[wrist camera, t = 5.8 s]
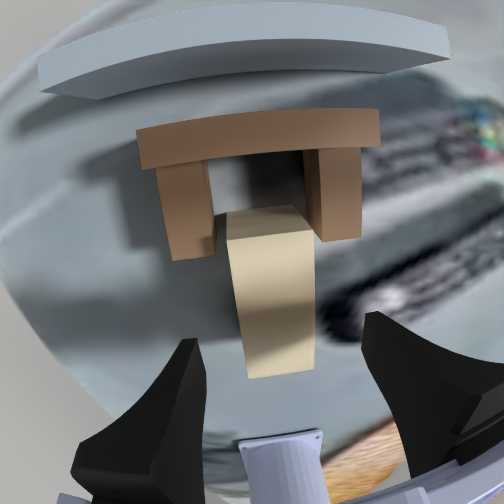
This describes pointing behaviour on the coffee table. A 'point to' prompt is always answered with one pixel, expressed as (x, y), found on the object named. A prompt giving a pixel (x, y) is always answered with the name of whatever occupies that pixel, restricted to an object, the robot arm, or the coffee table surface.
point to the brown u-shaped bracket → (251, 142)
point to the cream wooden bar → (273, 288)
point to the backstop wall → (239, 46)
